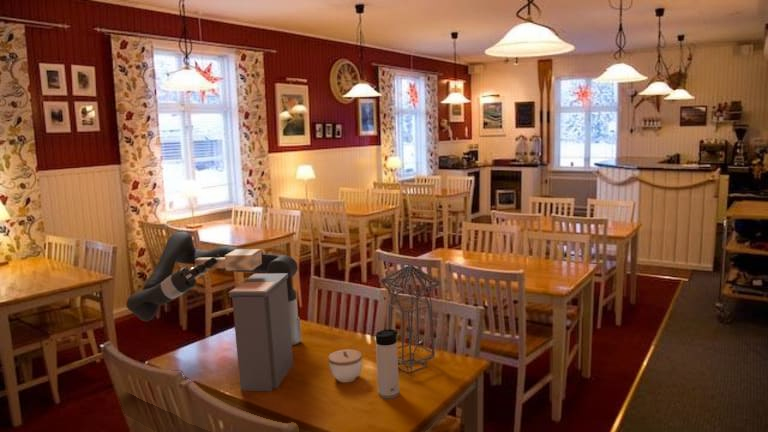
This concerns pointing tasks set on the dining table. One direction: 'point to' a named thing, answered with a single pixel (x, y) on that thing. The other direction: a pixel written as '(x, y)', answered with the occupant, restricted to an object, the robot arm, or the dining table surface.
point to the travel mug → (387, 363)
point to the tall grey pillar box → (262, 331)
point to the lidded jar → (345, 364)
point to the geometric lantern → (408, 271)
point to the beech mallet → (236, 260)
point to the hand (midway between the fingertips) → (217, 258)
